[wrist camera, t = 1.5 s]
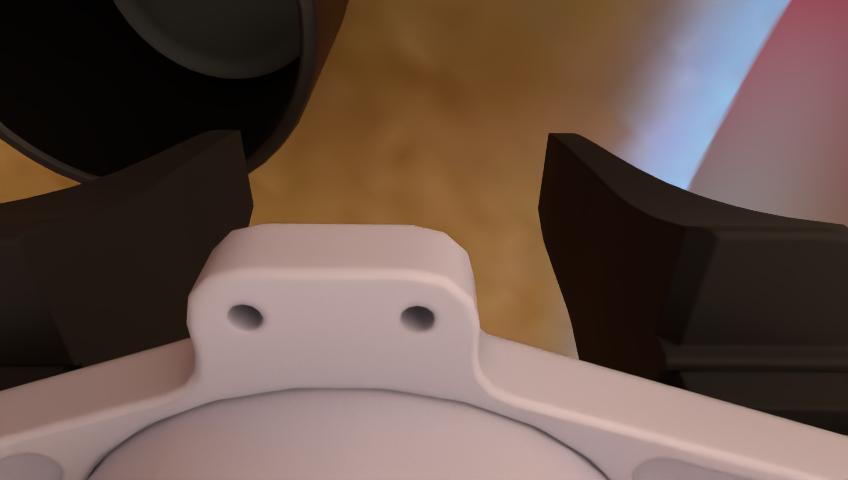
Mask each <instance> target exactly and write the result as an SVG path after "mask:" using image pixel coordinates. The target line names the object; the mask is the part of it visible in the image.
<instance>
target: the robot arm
mask: <svg viewBox="0 0 848 480" xmlns="http://www.w3.org/2000/svg"><path fill="white" fill-rule="evenodd" d="M253 207H254V205H253V200H252V194H251V189H250V183H249V178H248V172H247V167H246V161H245V155H244V150H243V144H242V139H241V133H240V130H211V131H207V132H204V133H202V134H199V135H197V136H194V137H192V138H190V139H188V140H186V141H184V142H181V143H179V144H177V145H175V146H173V147H171V148H169V149H167V150H165V151H163V152H160V153H158V154H156V155H154V156H152V157H150V158H147V159H145V160H143V161H140V162H138V163H136V164H134V165H131V166H129V167H127V168H124V169H122V170H120V171H117V172H115V173H112V174H109V175H107V176H104V177H101V178H98V179H95V180H92V181H89V182H86V183H83V184H80V185H77V186H74V187H70V188H66V189H62V190H58V191H54V192H50V193H46V194H42V195H38V196H34V197H30V198H26V199H21V200H16V201H11V202H6V203H0V480H848V228H847V227H846V226H845V225H842V224H834V223H826V222H819V221H810V220H803V219H795V218H788V217H783V216H778V215H773V214H768V213H763V212H758V211H753V210H749V209H745V208H741V207H736V206H733V205H729V204H726V203H722V202H719V201H716V200H712V199H709V198H706V197H703V196H700V195H697V194H694V193H691V192H689V191H686V190H684V189H681V188H679V187H676V186H674V185H671V184H669V183H666V182H664V181H662V180H660V179H658V178H656V177H654V176H652V175H650V174H648V173H646V172H644V171H642V170H640V169H638V168H636V167H634V166H632V165H631V164H629V163H627V162H625V161H624V160H622V159H620V158H618V157H617V156H615V155H613V154H612V153H610V152H608V151H607V150H605V149H603V148H602V147H600V146H598V145H597V144H595V143H593V142H592V141H590V140H588V139H586V138H585V137H583V136H580V135H578V134H575V133H549V135H548V142H547V149H546V156H545V163H544V170H543V177H542V184H541V191H540V198H539V206H538V212H539V218H540V224H541V230H542V235H543V240H544V243H545V247H546V250H547V252H548V255H549V258H550V261H551V264H552V267H553V270H554V273H555V275H556V278H557V281H558V284H559V287H560V290H561V292H562V295H563V298H564V301H565V304H566V307H567V310H568V313H569V317H570V320H571V323H572V328H573V333H574V338H575V342H576V347H577V352H578V356H579V360H578V359H574V358H571V357H567V356H564V355H560V354H557V353H553V352H550V351H546V350H543V349H539V348H536V347H532V346H529V345H525V344H522V343H518V342H515V341H511V340H508V339H504V338H500V337H497V336H493V335H490V334H486V333H485V332H484V331H483V330H482V329H480V323H479V314H478V306H477V297H476V288H475V280H474V275H473V271H472V267H471V264H470V260H469V256H468V252H466V251H465V250H464V249H463V248H462V247H461V246H460V245H458V244H457V243H456V242H455V241H454V240H453V239H451V238H450V237H449V236H448V235H447V234H446V233H445V232H441V231H436V230H432V229H428V228H423V227H419V226H415V225H397V224H287V223H263V224H259V225H254V226H250V227H248V226H249V222H250V219H251V215H252V211H253Z"/></svg>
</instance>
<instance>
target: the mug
mask: <svg viewBox="0 0 848 480" xmlns="http://www.w3.org/2000/svg"><path fill="white" fill-rule="evenodd" d="M347 4H348V0H0V139H2V140H3V141H5V142H6V143H8V144H9V145H10V146H12V147H13V148H15V149H16V150H18V151H19V152H21V153H22V154H24V155H25V156H27V157H28V158H30V159H32V160H33V161H35V162H37V163H39V164H41V165H43V166H44V167H46V168H48V169H50V170H52V171H54V172H56V173H58V174H60V175H62V176H65V177H67V178H70V179H72V180H75V181H77V182H80V183H82V184H83V183H86V182H89V181H92V180H95V179H98V178H101V177H104V176H107V175H109V174H112V173H115V172H117V171H120V170H122V169H124V168H127V167H129V166H131V165H134V164H136V163H138V162H140V161H143V160H145V159H147V158H150V157H152V156H154V155H156V154H158V153H160V152H163V151H165V150H167V149H169V148H171V147H173V146H175V145H177V144H179V143H181V142H184V141H186V140H188V139H190V138H192V137H194V136H197V135H199V134H202V133H204V132H207V131H211V130H240V133H241V139H242V144H243V150H244V155H245V161H246V167H247V172H248V174H249V173H251V172H252V171H254V170H255V169H257V168H258V167H260V166H261V165H263V164H264V163H265V162H266V161H267V160H268V159H269V158H270V157H271V156H272V155H273V154H274V153H275V152H276V151H277V150H278V149H279V148H280V147H281V146H282V145H283V144H284V142H285V141H286V140H287V139H288V137H289V136H290V134H291V133H292V131H293V130H294V129H295V127H296V126H297V124H298V123H299V120H300V118H301V116H302V114H303V112H304V109H305V107H306V105H307V103H308V101H309V98H310V96H311V94H312V91H313V89H314V87H315V84H316V82H317V80H318V77H319V75H320V73H321V70H322V68H323V66H324V63H325V61H326V59H327V56H328V54H329V52H330V49H331V47H332V45H333V42H334V40H335V38H336V35H337V33H338V30H339V28H340V26H341V23H342V21H343V18H344V15H345V11H346V7H347Z"/></svg>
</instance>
